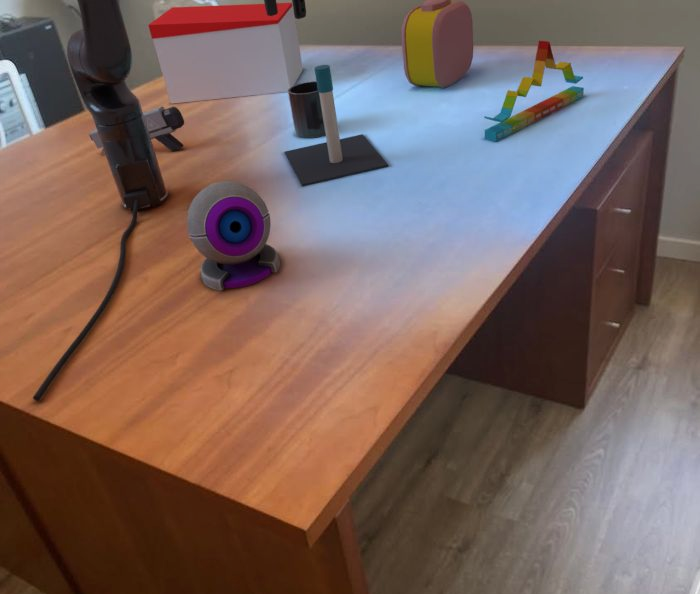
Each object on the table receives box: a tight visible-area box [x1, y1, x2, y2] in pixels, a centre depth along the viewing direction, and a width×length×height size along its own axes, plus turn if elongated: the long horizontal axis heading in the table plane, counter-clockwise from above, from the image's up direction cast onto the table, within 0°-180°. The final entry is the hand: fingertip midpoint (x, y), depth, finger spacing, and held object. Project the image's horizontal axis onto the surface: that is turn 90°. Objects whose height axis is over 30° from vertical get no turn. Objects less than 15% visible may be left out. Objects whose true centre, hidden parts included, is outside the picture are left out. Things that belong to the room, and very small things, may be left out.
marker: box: [314, 64, 343, 163], centre depth 146 cm, size 3×3×19 cm
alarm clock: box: [400, 0, 474, 89], centre depth 181 cm, size 18×11×19 cm, turn 144°
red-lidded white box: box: [147, 2, 304, 105], centre depth 202 cm, size 21×35×21 cm, turn 83°
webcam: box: [186, 180, 281, 291], centre depth 115 cm, size 13×13×15 cm
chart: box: [483, 40, 585, 142], centre depth 153 cm, size 30×3×15 cm, turn 131°
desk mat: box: [284, 133, 389, 187], centre depth 153 cm, size 20×18×1 cm
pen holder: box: [287, 80, 326, 139], centre depth 166 cm, size 9×9×10 cm
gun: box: [88, 105, 185, 155], centre depth 172 cm, size 2×25×10 cm, turn 77°
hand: (286, 16), depth 137 cm, fingers open, 8 cm apart
